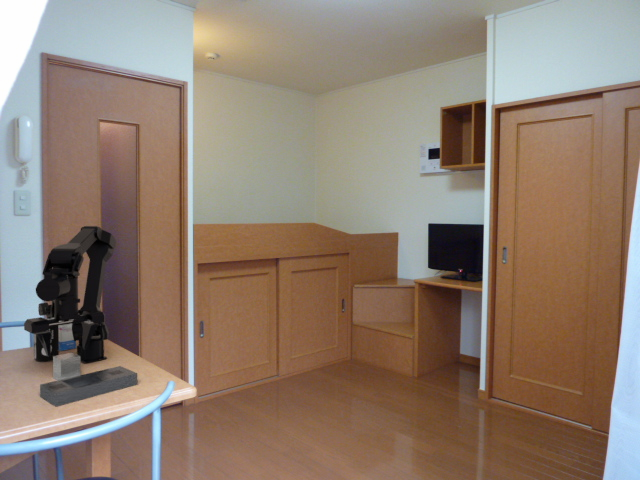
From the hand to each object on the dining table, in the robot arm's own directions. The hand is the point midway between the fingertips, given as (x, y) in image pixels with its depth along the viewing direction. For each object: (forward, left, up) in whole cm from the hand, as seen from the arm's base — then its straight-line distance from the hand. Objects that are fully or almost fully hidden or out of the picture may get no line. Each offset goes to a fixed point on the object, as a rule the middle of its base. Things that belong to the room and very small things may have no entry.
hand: (66, 352), depth 130 cm
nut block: (0, 0, -7) cm, 7 cm away
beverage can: (-3, -22, -7) cm, 23 cm away
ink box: (-12, -32, -7) cm, 35 cm away
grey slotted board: (0, +14, -7) cm, 16 cm away
